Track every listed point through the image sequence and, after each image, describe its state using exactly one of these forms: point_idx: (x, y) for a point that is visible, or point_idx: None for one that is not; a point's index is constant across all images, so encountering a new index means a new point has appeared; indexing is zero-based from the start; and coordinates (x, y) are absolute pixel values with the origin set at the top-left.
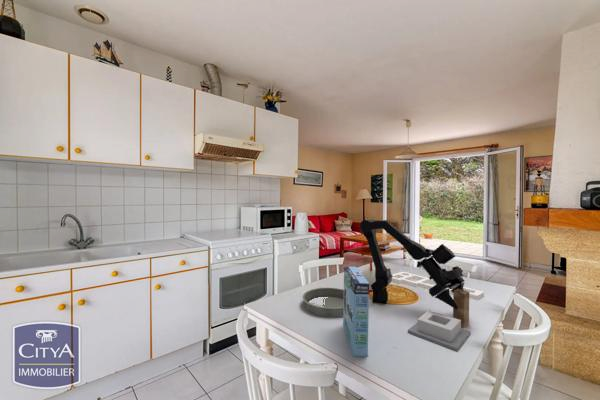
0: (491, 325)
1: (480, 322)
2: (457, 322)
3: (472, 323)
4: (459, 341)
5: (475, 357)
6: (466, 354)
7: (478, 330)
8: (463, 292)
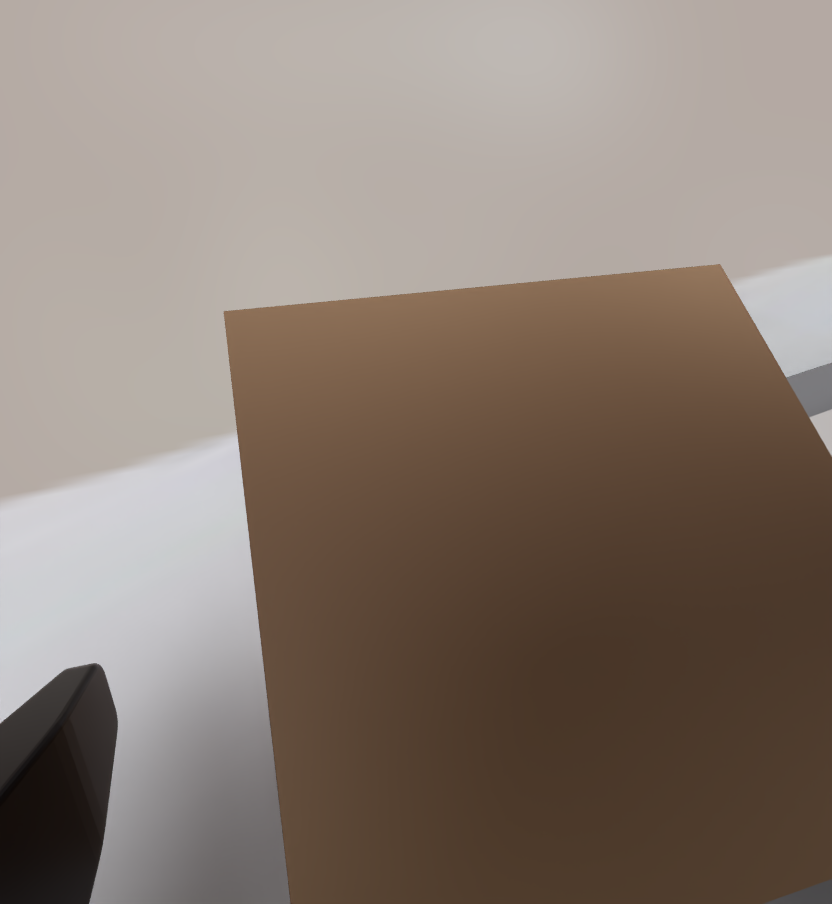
0: (22, 503)
1: (49, 624)
2: (818, 425)
3: (201, 650)
4: (810, 390)
5: (788, 267)
6: (829, 309)
7: None
8: (641, 363)
